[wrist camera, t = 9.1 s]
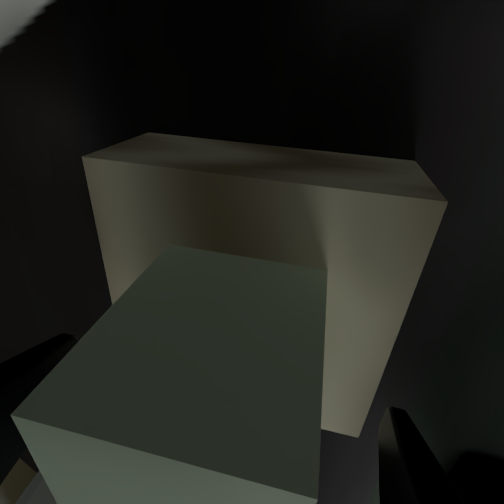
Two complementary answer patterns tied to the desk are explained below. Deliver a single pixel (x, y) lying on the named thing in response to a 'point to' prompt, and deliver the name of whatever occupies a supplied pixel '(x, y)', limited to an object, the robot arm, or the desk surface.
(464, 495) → the robot arm
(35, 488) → the eye dropper bottle
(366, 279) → the birch block
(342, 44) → the desk surface
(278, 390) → the sage block
